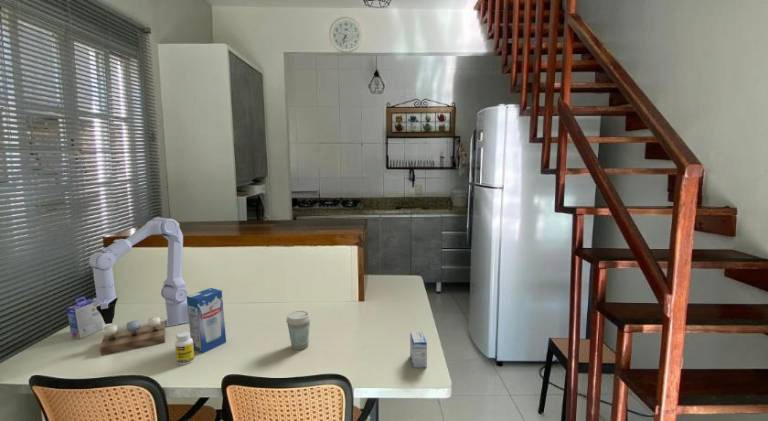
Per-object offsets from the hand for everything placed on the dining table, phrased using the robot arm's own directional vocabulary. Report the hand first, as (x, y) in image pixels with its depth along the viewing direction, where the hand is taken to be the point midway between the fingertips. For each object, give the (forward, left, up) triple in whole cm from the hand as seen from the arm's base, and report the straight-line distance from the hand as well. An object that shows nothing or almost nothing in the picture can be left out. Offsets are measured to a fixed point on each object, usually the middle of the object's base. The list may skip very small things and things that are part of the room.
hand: (109, 321), depth 152 cm
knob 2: (-14, 0, -7) cm, 15 cm away
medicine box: (-92, +64, -10) cm, 112 cm away
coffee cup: (-60, +34, -10) cm, 70 cm away
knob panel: (-7, 0, -10) cm, 12 cm away
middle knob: (-7, 0, -7) cm, 10 cm away
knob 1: (0, 0, -7) cm, 7 cm away
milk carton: (-32, +17, -10) cm, 37 cm away
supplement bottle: (-24, +25, -10) cm, 36 cm away
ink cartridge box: (+10, -19, -10) cm, 24 cm away
